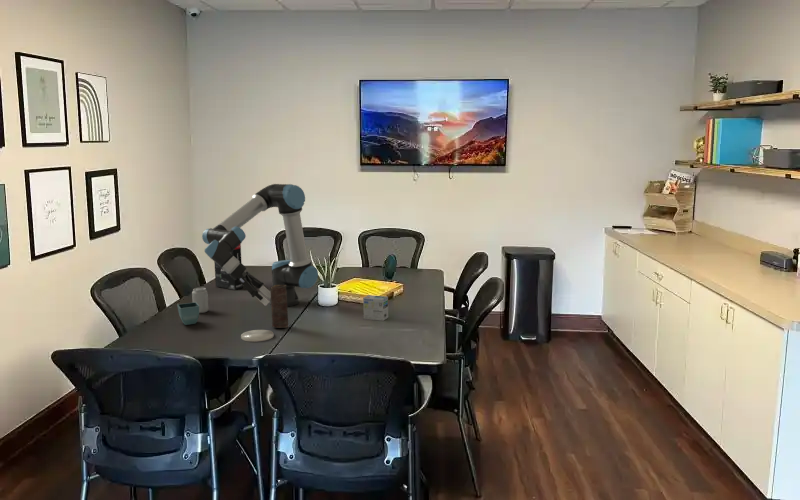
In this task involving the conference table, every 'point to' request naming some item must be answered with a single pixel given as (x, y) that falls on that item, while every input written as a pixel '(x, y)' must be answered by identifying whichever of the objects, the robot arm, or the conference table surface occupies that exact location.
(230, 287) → the graphics card box
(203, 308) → the can
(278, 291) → the candle
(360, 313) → the conference table surface
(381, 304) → the light bulb box
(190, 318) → the flower pot
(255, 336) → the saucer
